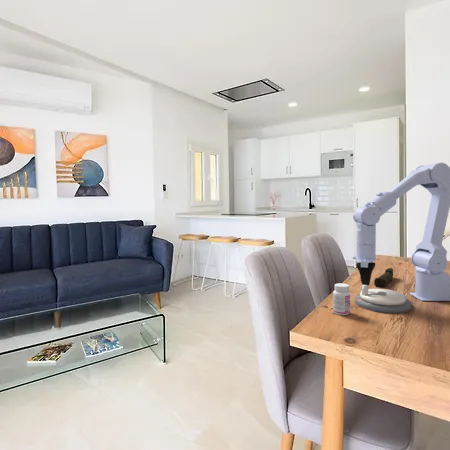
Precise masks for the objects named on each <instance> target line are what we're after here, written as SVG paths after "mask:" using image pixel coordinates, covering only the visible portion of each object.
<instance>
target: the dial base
mask: <svg viewBox="0 0 450 450" xmlns="http://www.w3.org/2000/svg"><path fill="white" fill-rule="evenodd" d="M354 303H355V305H357V306H358V307H360V308H362V309H364V310H367V311H372V312H375V313H382V314H401V313H402V314H403V313H407V312H409V311H411V310H412V301H411V300H410V299H409V298H406V303H404V304H402V305H394V306H389V305H378V304H373V303H369V302H366V301H364V300H362V299H361V298H360V293H359V294H357V295H355V297H354Z"/></svg>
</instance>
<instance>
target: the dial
mask: <svg viewBox="0 0 450 450" xmlns="http://www.w3.org/2000/svg"><path fill="white" fill-rule="evenodd" d="M359 294H360V298H361V299H362V300H364V301H366V302H369V303H373V304H378V305H389V306H394V305H402V304H404V303H406V299H407V296H406V295H405V293H402V292H399V291H397V290H396V291H395V290H391V289H385V288H369V285H362V284H361V291H360V293H359Z"/></svg>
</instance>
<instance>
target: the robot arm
mask: <svg viewBox="0 0 450 450" xmlns="http://www.w3.org/2000/svg"><path fill="white" fill-rule="evenodd" d="M416 186H421V187H423V188H425V189H426V190H427V191H428V192H429V193H430V194H431V198H430V202H429V207H428V212H427V218H426V220H425V221H426V223H425V226H424V231H423V236H422V241H420V242H419V243H418V244H416V246H415V249H414V251H413V252H412V254H411V257H410V261H411V263H412V265H413V266H414V270H415V282H414V283H415V285H414V286H415V288H414V292H409V295H411V296H412V297H414V298H416V299H418V300H420V301H421V302H428V301H429V302H431V301H432V302H437V301H438V302H439V301H441V302H443V301H447V302H449V301H450V274H449V273H448V272H446V269H447V266H448V259H447V254H448V251H447V249H446V248H445V246H443V241H444V237H445V236H444V234H445V231H446V227H447V223H448V217H449V213H450V166H449V165H448V164H447V163H445V162H438V163H432V164H426V165H419V166H417V167H416V168H415V169H413V170H411V171H410V172H409V174H408V175H407V176H405V177H404V178H403V179H402V180H401V181H399V182H398V183H397V184H396V185H395V186H394V187H393V188H391V189H390V190H389V191H385V190H384V191H380V192H379V191H378V192H377V193H376V196H375V197H374V198H373V199H371V200H370V201H367V202H365V204H364V205H365V206H360V207H358V208H356V210H355V211H354V212H355V213H354V215H352V218H353V221H354V222H355V224H356V255H353V256H352V259H353V260H356V261H357V262H356V263H355V265H356V268H357V270H358V273H359V276H360V282H361V286H362V285H368V286H370V283H371V279H372V274H373V271H374V268H375V267H376V262H375V261H377V257H376V255H377V254H376V253H377V251H376V249H377V248H376V247H377V246H376V245H377V244H376V241H377V239H376V238H377V233H376V232H377V230H376V229H377V224H378V223H379V222H380V220H381V217H382V216H384V215H385V213H387V212H388V211H390V210H391V209H392V208H393V207H395V206H396V204H397V200H398V199H399V198H400V197H402V196H404V195H405V194H406V193H409V191H411V190H412V189H414V188H415V187H416Z"/></svg>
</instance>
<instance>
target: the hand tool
mask: <svg viewBox="0 0 450 450" xmlns="http://www.w3.org/2000/svg"><path fill="white" fill-rule="evenodd" d="M384 271H385V272H384V273H383V274H381V275H380V276H378V277H376V278H375V279H374V280H373V282H374V283H373V284H374V287H375V288H378V289H385V287H386V285H387V284H389V282H390V281H391V282H392V281H393V279H394V268H393V267H389V268H387V269H385V270H384Z"/></svg>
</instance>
